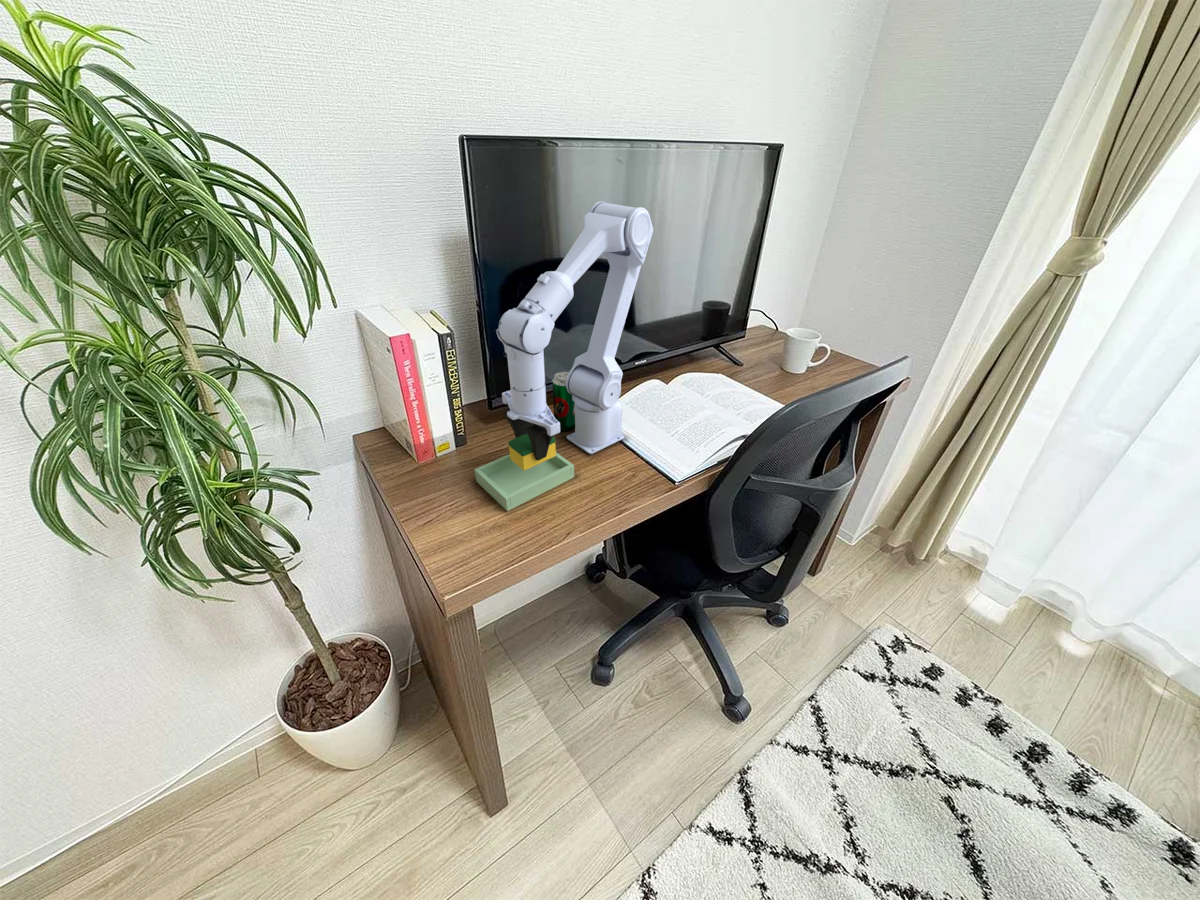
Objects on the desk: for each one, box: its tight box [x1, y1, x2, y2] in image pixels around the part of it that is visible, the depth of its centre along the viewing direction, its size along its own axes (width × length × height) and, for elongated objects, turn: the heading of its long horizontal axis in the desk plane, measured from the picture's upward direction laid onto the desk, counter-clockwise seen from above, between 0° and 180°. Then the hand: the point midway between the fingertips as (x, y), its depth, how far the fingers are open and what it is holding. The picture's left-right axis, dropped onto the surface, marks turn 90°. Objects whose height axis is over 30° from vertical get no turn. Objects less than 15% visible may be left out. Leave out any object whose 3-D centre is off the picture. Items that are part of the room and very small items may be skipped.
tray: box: [474, 451, 575, 512], centre depth 87 cm, size 15×11×3 cm
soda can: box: [551, 371, 575, 432], centre depth 99 cm, size 5×5×12 cm
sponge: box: [507, 434, 557, 471], centre depth 85 cm, size 7×4×4 cm, turn 131°
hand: (532, 451), depth 85 cm, fingers closed on sponge, 4 cm apart
